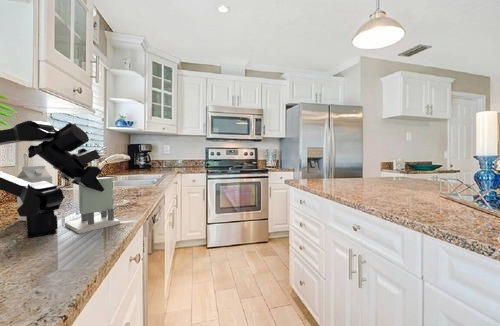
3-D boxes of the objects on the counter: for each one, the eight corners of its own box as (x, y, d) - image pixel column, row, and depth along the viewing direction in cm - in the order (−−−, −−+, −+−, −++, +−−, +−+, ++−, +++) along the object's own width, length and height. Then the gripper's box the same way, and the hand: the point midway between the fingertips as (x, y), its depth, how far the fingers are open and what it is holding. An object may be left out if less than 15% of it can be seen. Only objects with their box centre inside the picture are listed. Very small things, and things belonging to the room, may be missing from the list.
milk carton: (18, 220, 86) (15, 166, 85) (40, 215, 93) (38, 165, 91) (32, 222, 84) (29, 167, 83) (54, 216, 90) (51, 165, 89)
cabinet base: (78, 233, 73) (78, 218, 72) (65, 225, 80) (64, 211, 80) (120, 223, 82) (119, 210, 82) (104, 217, 90) (104, 204, 89)
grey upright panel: (82, 214, 77) (82, 180, 77) (79, 212, 79) (78, 179, 79) (114, 209, 85) (113, 177, 84) (110, 207, 87) (109, 177, 86)
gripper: (93, 139, 72) (131, 174, 81) (71, 140, 83) (106, 170, 93) (61, 167, 66) (106, 201, 76) (42, 164, 77) (83, 194, 87)
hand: (101, 190), depth 83 cm, fingers closed on grey upright panel, 3 cm apart
